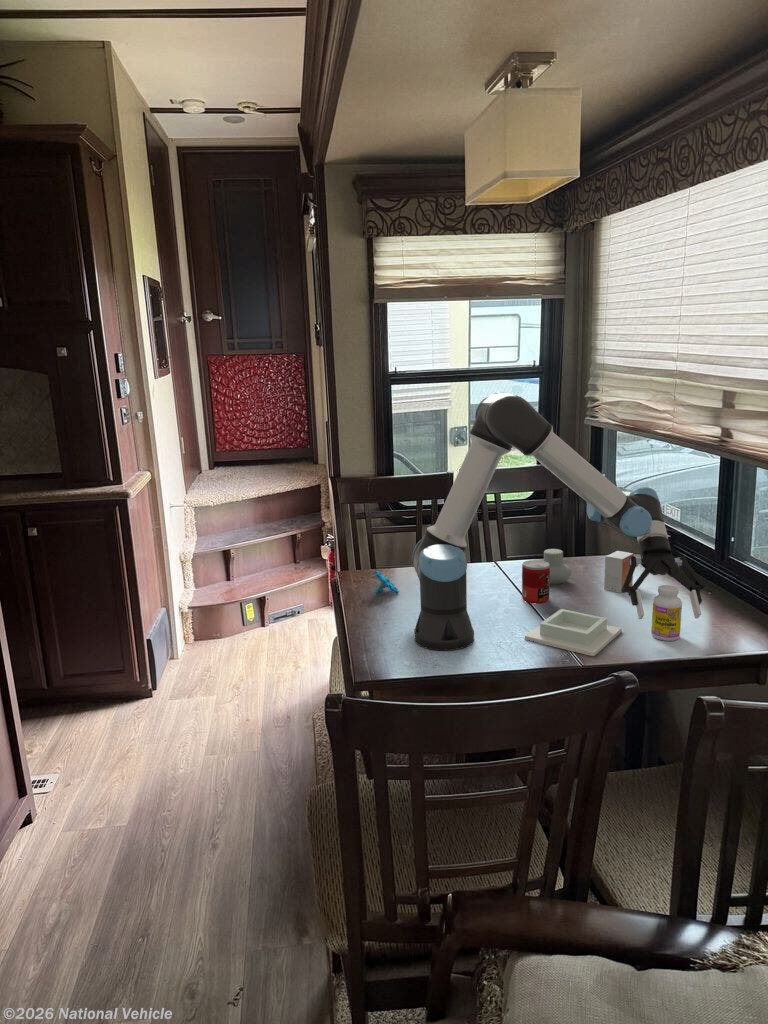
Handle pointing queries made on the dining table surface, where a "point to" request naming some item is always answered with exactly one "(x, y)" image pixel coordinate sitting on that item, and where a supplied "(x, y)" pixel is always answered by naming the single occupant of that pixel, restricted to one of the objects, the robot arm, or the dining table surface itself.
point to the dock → (574, 632)
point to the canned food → (535, 581)
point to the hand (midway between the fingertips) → (669, 616)
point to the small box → (616, 570)
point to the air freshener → (557, 566)
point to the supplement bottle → (666, 614)
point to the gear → (384, 583)
